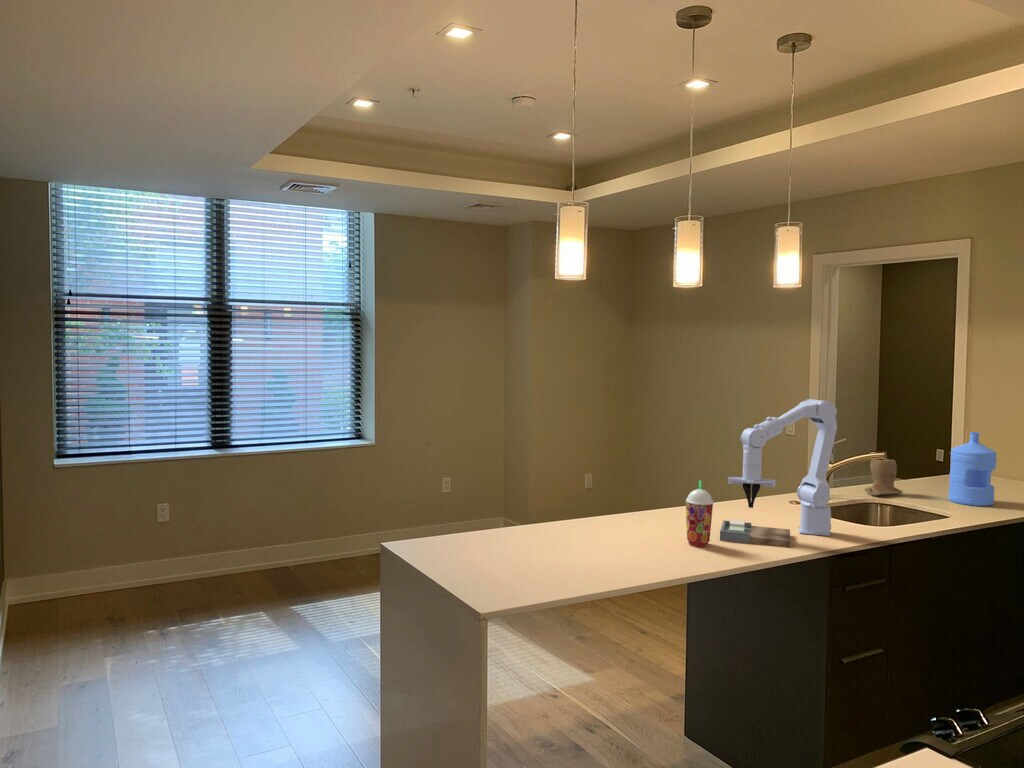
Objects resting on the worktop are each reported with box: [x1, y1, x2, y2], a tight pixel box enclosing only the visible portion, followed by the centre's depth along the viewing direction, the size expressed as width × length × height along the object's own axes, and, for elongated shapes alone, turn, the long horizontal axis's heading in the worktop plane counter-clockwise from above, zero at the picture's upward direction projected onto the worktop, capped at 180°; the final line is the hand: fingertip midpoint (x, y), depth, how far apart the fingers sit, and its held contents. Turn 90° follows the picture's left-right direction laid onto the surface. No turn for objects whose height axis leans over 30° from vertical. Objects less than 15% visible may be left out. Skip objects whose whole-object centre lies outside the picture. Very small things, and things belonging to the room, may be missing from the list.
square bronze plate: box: [749, 525, 792, 548], centre depth 247 cm, size 12×15×2 cm
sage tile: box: [729, 526, 744, 533], centre depth 247 cm, size 4×4×2 cm
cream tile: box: [729, 519, 746, 528], centre depth 252 cm, size 4×4×2 cm
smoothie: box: [685, 479, 714, 548], centre depth 239 cm, size 8×8×20 cm
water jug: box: [948, 431, 997, 507], centre depth 307 cm, size 16×16×28 cm
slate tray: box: [719, 520, 752, 544], centre depth 250 cm, size 9×15×3 cm, turn 161°
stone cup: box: [864, 458, 903, 497], centre depth 320 cm, size 15×12×15 cm
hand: (750, 507), depth 251 cm, fingers closed
